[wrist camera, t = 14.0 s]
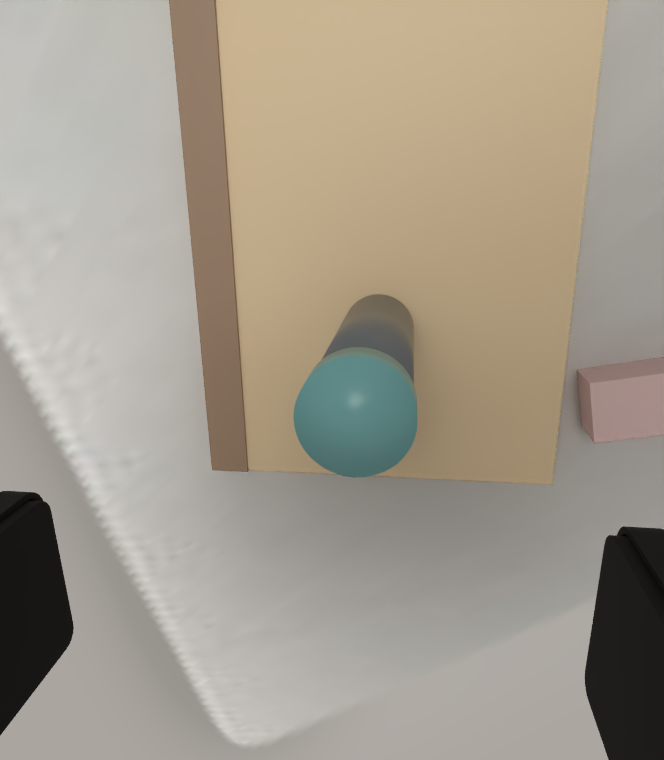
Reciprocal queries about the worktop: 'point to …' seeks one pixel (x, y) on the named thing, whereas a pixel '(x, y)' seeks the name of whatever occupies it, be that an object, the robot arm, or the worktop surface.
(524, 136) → the notepad
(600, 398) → the eraser
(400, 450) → the marker
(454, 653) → the worktop surface
